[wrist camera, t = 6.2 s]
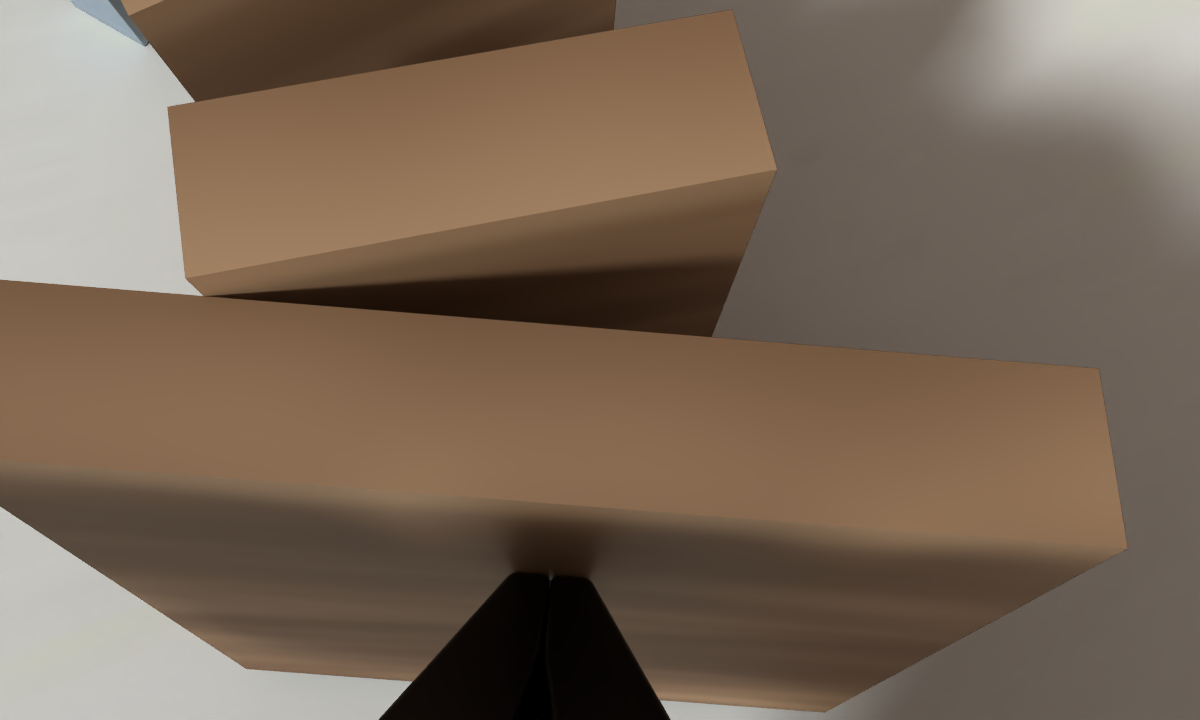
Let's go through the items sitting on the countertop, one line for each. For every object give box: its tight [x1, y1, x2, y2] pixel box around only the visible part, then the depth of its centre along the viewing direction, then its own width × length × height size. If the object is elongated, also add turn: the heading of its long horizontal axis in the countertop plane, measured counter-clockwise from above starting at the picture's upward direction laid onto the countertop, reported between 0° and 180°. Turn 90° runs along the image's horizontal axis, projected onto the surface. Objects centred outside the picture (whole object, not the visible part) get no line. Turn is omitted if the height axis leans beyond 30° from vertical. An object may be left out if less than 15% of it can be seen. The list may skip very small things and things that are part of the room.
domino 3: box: [0, 280, 1128, 712], centre depth 13 cm, size 2×10×10 cm, turn 85°
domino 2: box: [168, 10, 777, 337], centre depth 14 cm, size 2×5×10 cm, turn 102°
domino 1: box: [121, 0, 616, 102], centre depth 14 cm, size 2×5×10 cm, turn 118°
